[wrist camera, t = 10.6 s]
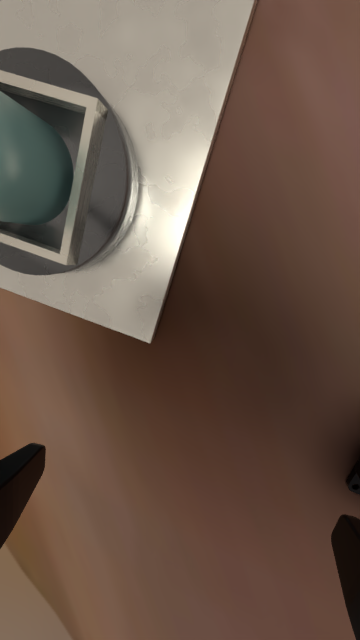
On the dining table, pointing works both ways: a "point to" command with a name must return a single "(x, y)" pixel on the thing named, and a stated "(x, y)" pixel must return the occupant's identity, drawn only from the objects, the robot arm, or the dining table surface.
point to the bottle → (31, 167)
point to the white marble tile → (117, 143)
